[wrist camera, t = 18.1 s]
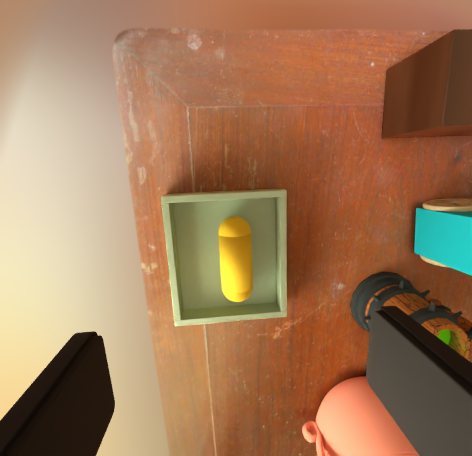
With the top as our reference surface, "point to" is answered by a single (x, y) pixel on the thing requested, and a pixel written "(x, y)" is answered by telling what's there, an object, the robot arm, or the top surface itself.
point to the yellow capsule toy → (236, 258)
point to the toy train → (445, 233)
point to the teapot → (356, 424)
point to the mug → (411, 309)
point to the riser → (431, 90)
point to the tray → (208, 254)
